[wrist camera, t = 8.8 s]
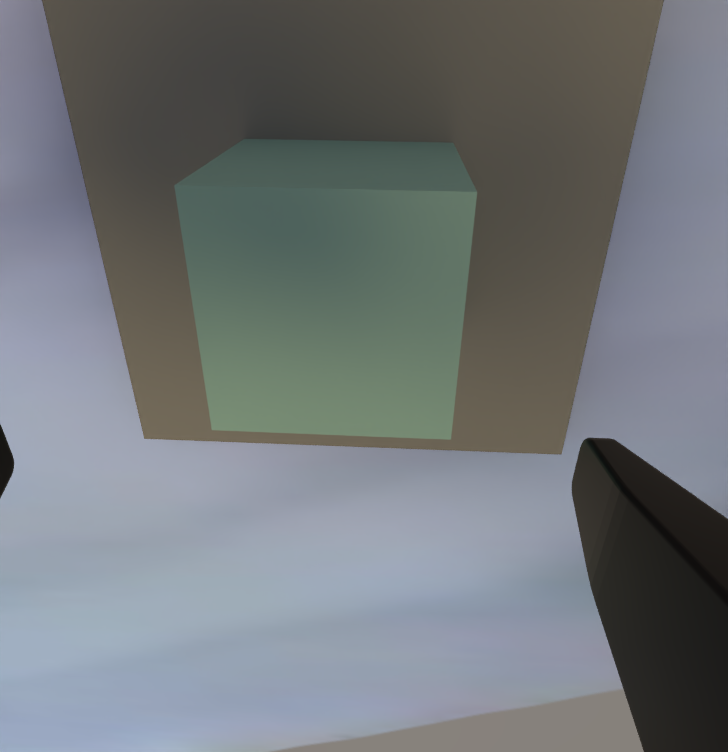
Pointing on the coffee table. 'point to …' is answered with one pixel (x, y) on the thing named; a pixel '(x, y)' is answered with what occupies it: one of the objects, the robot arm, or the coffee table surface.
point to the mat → (367, 123)
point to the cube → (330, 284)
